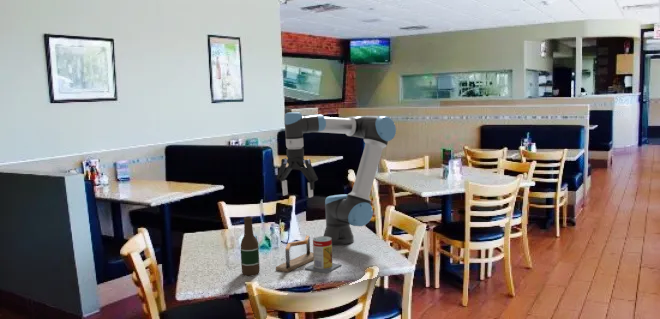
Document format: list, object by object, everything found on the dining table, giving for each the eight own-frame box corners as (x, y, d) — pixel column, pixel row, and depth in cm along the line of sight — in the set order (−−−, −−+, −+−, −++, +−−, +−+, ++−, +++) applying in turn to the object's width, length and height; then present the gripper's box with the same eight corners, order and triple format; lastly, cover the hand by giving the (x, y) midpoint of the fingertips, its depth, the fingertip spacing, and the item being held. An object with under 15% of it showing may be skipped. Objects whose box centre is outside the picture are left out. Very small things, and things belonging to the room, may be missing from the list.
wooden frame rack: (309, 255, 261) (308, 234, 260) (320, 256, 258) (319, 236, 256) (276, 270, 241) (274, 247, 240) (287, 272, 238) (286, 249, 237)
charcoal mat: (320, 262, 250) (319, 260, 250) (341, 265, 244) (341, 264, 244) (305, 269, 241) (305, 268, 241) (326, 273, 235) (326, 272, 235)
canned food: (335, 264, 244) (334, 237, 242) (327, 270, 237) (326, 242, 235) (318, 262, 247) (317, 235, 246) (310, 268, 240) (309, 240, 239)
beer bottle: (263, 270, 241) (260, 215, 238) (255, 276, 234) (251, 219, 231) (246, 269, 244) (243, 214, 240) (238, 275, 236) (234, 218, 233)
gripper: (266, 148, 250) (270, 196, 253) (314, 149, 237) (317, 199, 240) (276, 146, 257) (280, 192, 260) (323, 147, 244) (326, 196, 247)
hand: (297, 196), depth 250 cm, fingers open, 13 cm apart
